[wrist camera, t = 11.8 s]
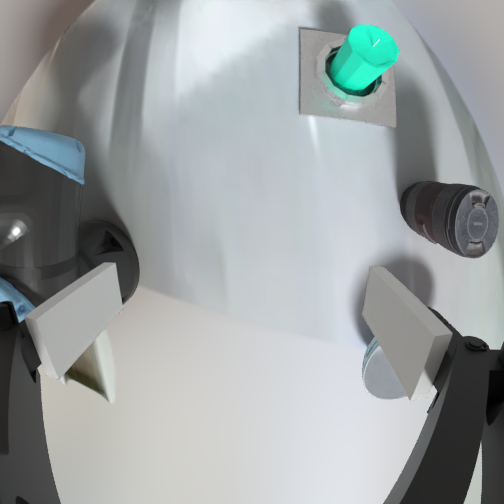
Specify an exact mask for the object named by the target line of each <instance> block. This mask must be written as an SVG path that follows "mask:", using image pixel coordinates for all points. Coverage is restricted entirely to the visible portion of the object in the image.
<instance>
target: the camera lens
mask: <svg viewBox="0 0 504 504" xmlns="http://www.w3.org/2000/svg"><path fill="white" fill-rule="evenodd" d="M400 209H401V214H402V216H403V218H404V220H405V221H406V223H407V224H408V226H409V227H410V228H411V229H412V230H414V231H415V232H416V233H418V234H419V235H421V236H423V237H425V238H426V239H428V240H429V241H430V242H432V243H434V244H437V243H439V244H440V245H441V246H443V247H444V248H446V249H448V250H450V251H452V252H454V253H456V254H458V255H460V256H462V257H468V258H479V257H481V256H483V255H484V254H486V253H487V252H488V251H489V250H490V248H491V247H492V245H493V243H494V242H495V239H496V236H497V233H498V227H499V214H498V209H497V205H496V203H495V201H494V199H493V197H492V196H491V195H490V194H489V193H488V192H486V191H484V190H482V189H480V188H479V187H476V186H472V185H465V184H445V183H440V182H434V181H426V182H418V183H416V184H414V185H412V186H410V187H408V188H407V189H406V191H405V192H404V194H403V195H402V198H401V203H400Z"/></svg>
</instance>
